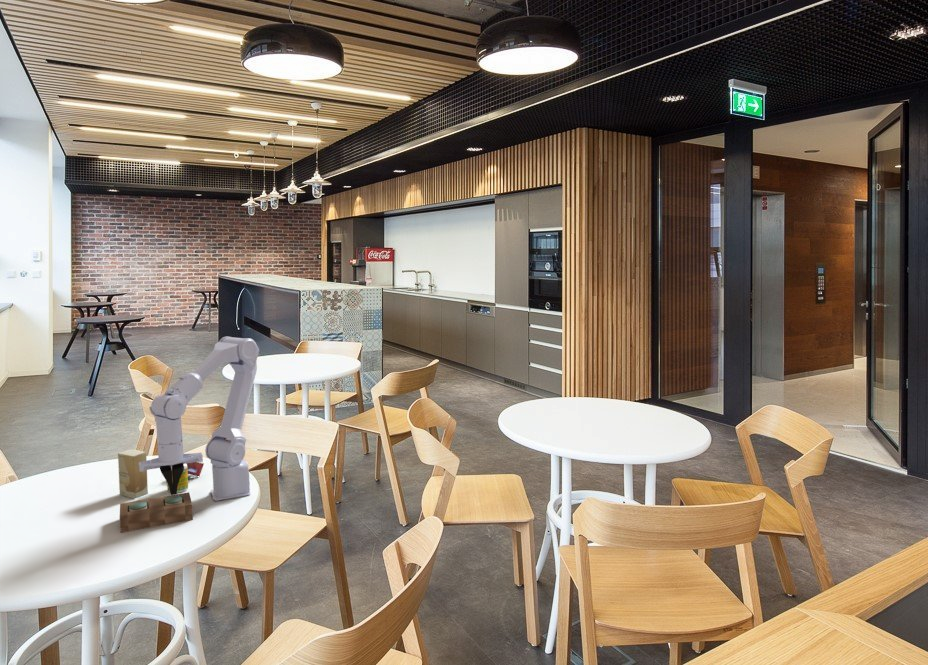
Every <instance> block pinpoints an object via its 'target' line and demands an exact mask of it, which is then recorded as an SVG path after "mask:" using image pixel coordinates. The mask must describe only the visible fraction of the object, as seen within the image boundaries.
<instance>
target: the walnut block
mask: <svg viewBox="0 0 928 665" xmlns="http://www.w3.org/2000/svg"><path fill="white" fill-rule="evenodd" d="M173 496H180V497H182V503H178V504H172V505H166V506H165V499H167V498H169V497H173ZM136 502H146V503H147V509H143V510H137V511H131V512H129V506H130V505H131V504H133V503H136ZM193 519H194V513H193V502H192V498H191V494H190V492H189V491H188V492H181V493H177V494H173V495H171V494H170V495H165V496H164V495H163V496H159V497H151V498H145V499H140V500H139V499H138V500H134V501H128V502H127V501H126V502H121V503H119V528H120V530H119V531H120V533H126V532H132V531H137V530H143V529H147V528H154V527H159V526H163V525H164V526H166V525H170V524H175V523H181V522H186V521H191V520H193Z"/></svg>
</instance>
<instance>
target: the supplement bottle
mask: <svg viewBox="0 0 928 665" xmlns="http://www.w3.org/2000/svg"><path fill="white" fill-rule="evenodd" d="M183 465H184V470H183V473H182V475H181V477H180V480H179V483H178V487H177V494H180V493H184V492H185V491H187V490H188V489H189V476H188V471H187V464H183ZM171 470H172V466H171ZM172 483H173V475H172ZM166 486H167V492H168V493H170V489H169V486H168V483H167V482H166Z"/></svg>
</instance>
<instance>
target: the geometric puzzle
mask: <svg viewBox="0 0 928 665" xmlns="http://www.w3.org/2000/svg"><path fill="white" fill-rule="evenodd" d="M186 464H187V471H188V475H190V476H189V478H191V477H192V476H193V477H196V476H199V477H200V475H201V473H202V471H203V467H204V464H205V463H203V462H193V463H186Z"/></svg>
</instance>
